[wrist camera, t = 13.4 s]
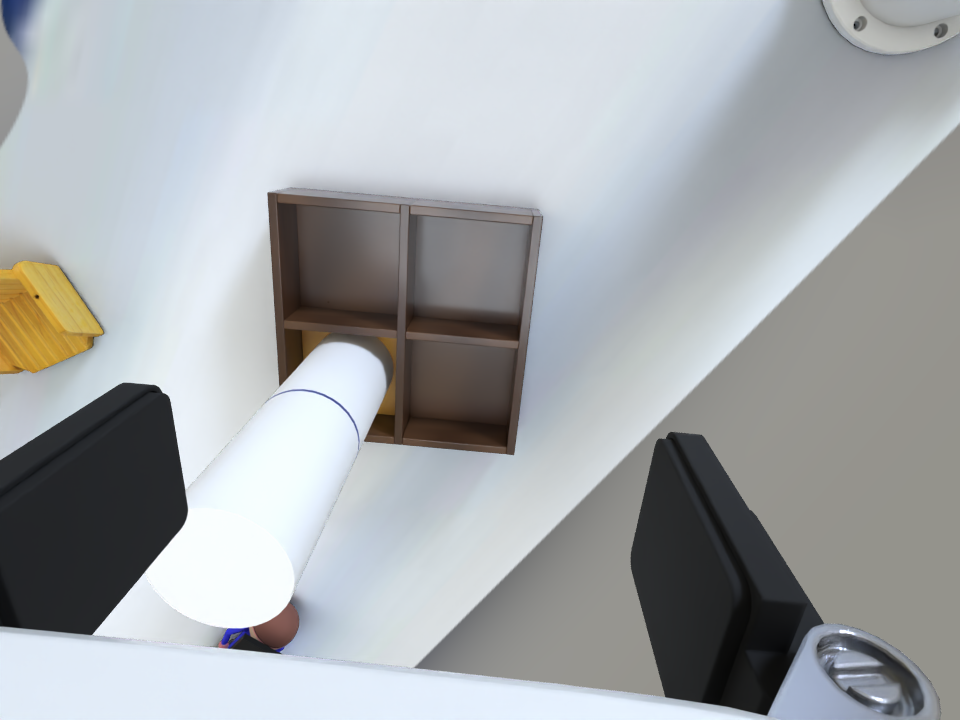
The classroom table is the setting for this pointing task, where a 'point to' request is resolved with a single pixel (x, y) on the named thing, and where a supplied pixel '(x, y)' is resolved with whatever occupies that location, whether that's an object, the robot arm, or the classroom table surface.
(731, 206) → the classroom table surface
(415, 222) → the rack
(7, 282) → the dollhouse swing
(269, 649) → the figurine character
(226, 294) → the classroom table surface
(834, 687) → the robot arm
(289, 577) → the cylindrical container
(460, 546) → the classroom table surface
